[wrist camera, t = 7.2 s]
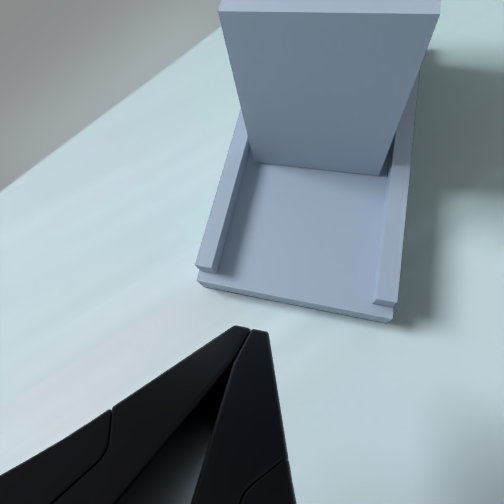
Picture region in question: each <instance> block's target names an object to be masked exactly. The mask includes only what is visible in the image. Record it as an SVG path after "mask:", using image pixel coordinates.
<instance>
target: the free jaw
mask: <svg viewBox="0 0 504 504" xmlns="http://www.w3.org/2000/svg"><path fill="white" fill-rule="evenodd" d="M440 9H441V0H222V2H221V4H220V7H219V10H218V13H219V17H220V22H221V26H222V30H223V34H224V39H225V43H226V47H227V51H228V55H229V59H230V64H231V68H232V72H233V76H234V80H235V85H236V89H237V93H238V97H239V101H240V105H241V110H242V114H243V118H244V122H245V126H246V131H247V135H248V139H249V143H250V147H251V152H252V156H253V160H254V162H258V163H267V164H275V165H284V166H293V167H302V168H311V169H320V170H329V171H338V172H347V173H356V174H365V175H374V176H379V174H380V171H381V169H382V166H383V164H384V161H385V158H386V156H387V153H388V150H389V148H390V145H391V142H392V140H393V137H394V134H395V132H396V129H397V127H398V124H399V121H400V119H401V116H402V113H403V111H404V108H405V105H406V103H407V100H408V97H409V95H410V92H411V90H412V87H413V84H414V82H415V79H416V76H417V74H418V71H419V68H420V66H421V63H422V61H423V58H424V55H425V53H426V50H427V47H428V45H429V42H430V39H431V37H432V34H433V31H434V29H435V26H436V24H437V21H438V18H439V16H440Z"/></svg>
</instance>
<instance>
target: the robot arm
mask: <svg viewBox="0 0 504 504" xmlns="http://www.w3.org/2000/svg"><path fill="white" fill-rule="evenodd" d="M0 504H296V499H295V493H294V488H293V483H292V477H291V471H290V464H289V461H288V453H287V447H286V440H285V434H284V428H283V421H282V415H281V409H280V402H279V396H278V390H277V383H276V377H275V371H274V365H273V358H272V352H271V346H270V339H269V334H268V332H266V331H261V330H256V329H253V330H250V329H249V328H246V327H241V326H233V327H231V328H230V329H228V330H227V331H225V332H224V333H222V334H221V335H219V336H218V337H216V338H215V339H213V340H212V341H210V342H209V343H207V344H206V345H204V346H203V347H201V348H200V349H198V350H197V351H195V352H194V353H192V354H191V355H189V356H188V357H186V358H185V359H183V360H182V361H180V362H179V363H177V364H176V365H174V366H173V367H171V368H170V369H168V370H167V371H166V372H164V373H163V374H161V375H160V376H158V377H157V378H155V379H154V380H152V381H151V382H149V383H148V384H146V385H145V386H143V387H142V388H140V389H139V390H137V391H136V392H134V393H133V394H131V395H130V396H128V397H127V398H125V399H124V400H122V401H121V402H119V403H118V404H116V405H115V406H113V408H112V410H110V409H109V410H107V411H106V412H104V413H103V414H101V415H100V416H98V417H97V418H95V419H94V420H92V421H91V422H89V423H88V424H86V425H84V426H83V427H81V428H80V429H78V430H77V431H75V432H73V433H72V434H70V435H69V436H67V437H66V438H64V439H63V440H61V441H59V442H57V443H56V444H54V445H52V446H51V447H49V448H47V449H46V450H44V451H42V452H40V453H39V454H37V455H35V456H34V457H32V458H30V459H29V460H27V461H25V462H23V463H21V464H20V465H18V466H16V467H14V468H13V469H11V470H9V471H7V472H5V473H4V474H2V475H0Z"/></svg>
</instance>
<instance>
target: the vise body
mask: <svg viewBox="0 0 504 504" xmlns="http://www.w3.org/2000/svg"><path fill="white" fill-rule="evenodd" d="M419 72H420V68H419V71H418V74H417V76H416V79H415V82H414V84H413V87H412V90H411V92H410V95H409V97H408V100H407V103H406V105H405V108H404V111H403V113H402V116H401V119H400V121H399V124H398V127H397V129H396V132H395V134H394V137H393V140H392V142H391V145H390V148H389V150H388V153H387V156H386V158H385V161H384V164H383V166H382V169H381V171H380V174H379V176H374V175H365V174H356V173H347V172H338V171H329V170H320V169H311V168H302V167H293V166H284V165H275V164H267V163H258V162H254V160H253V156H252V152H251V147H250V143H249V139H248V135H247V131H246V126H245V122H244V118H243V114H242V110H240V113H239V117H238V120H237V124H236V127H235V130H234V134H233V137H232V141H231V144H230V147H229V151H228V154H227V158H226V161H225V164H224V168H223V171H222V175H221V178H220V181H219V185H218V188H217V192H216V195H215V198H214V202H213V205H212V209H211V212H210V215H209V219H208V222H207V226H206V229H205V232H204V236H203V239H202V242H201V246H200V249H199V253H198V256H197V259H196V263H195V266H196V267H197V268H198V269H200V270H199V273H198V277H197V280H196V281H198V282H199V283H200V284H201V285H202V286H203V287H208V288H213V289H218V290H223V291H228V292H233V293H238V294H243V295H248V296H253V297H258V298H263V299H268V300H273V301H278V302H283V303H288V304H293V305H298V306H303V307H308V308H313V309H318V310H323V311H328V312H333V313H338V314H343V315H348V316H353V317H358V318H363V319H368V320H373V321H378V322H383V323H387V322H389V321H391V320H392V319H393V310H394V305H395V304H396V303H397V301H398V291H399V280H400V270H401V259H402V249H403V238H404V228H405V218H406V207H407V197H408V186H409V176H410V166H411V155H412V145H413V134H414V124H415V113H416V103H417V93H418V82H419Z"/></svg>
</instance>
